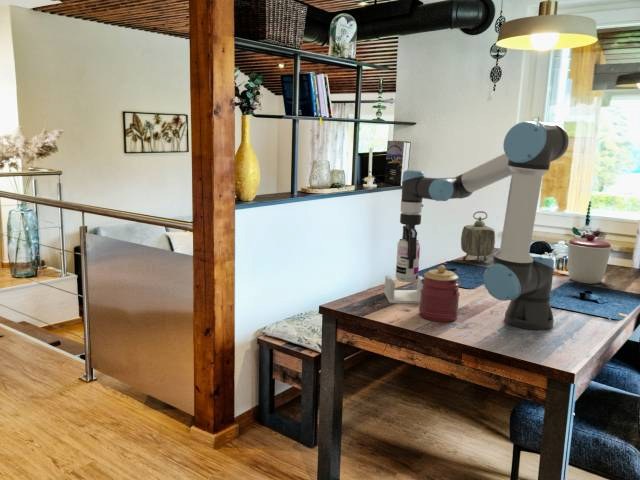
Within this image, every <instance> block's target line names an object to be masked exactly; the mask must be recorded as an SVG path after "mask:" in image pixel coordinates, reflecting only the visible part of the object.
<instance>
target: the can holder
mask: <svg viewBox="0 0 640 480" xmlns="http://www.w3.org/2000/svg"><path fill="white" fill-rule="evenodd" d="M424 278H425V277H423V276H422V275H418V279H417V285H416V290H415V289H414V290H411V289H410V290H409V289H407V290H405V289H395V287H396V285H395V284H396V283H395V281H394V280H393V278H392V277H391V275H389V274H387V275H386V274H385V278H384V279H385V281H384V291H383V293H384V295H385V297H386V299H387V300H388V303H389V304H416V305H420V296H421V292H420V290H421V289H422V283H421V280H422V279H424Z"/></svg>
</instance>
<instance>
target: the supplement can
mask: <svg viewBox="0 0 640 480" xmlns="http://www.w3.org/2000/svg"><path fill="white" fill-rule="evenodd" d="M396 249H397V251H396V265H395V266H396V267H395V279H396V280H397V281H399V282H403V283H413V282H416V281H418V276H419V271H420V270H419V269H420V268H419V267H420V256H421V255H420V254H421V244H420V240H419V239H417V245H416V259H415V261H414V276H413V277H406V263H407V260H406V258H408V253H407V252H408V242H407V241H406V239H402V238H400V239H399V240H398V242H397V247H396ZM411 256H413V255H411Z"/></svg>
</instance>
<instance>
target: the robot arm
mask: <svg viewBox="0 0 640 480" xmlns="http://www.w3.org/2000/svg"><path fill="white" fill-rule="evenodd" d="M569 141H570V138H569V135H568V132H567V131H566V129H565V128H564V127H562V126H561V125H559V124H558V123H554V122H543V121H534V120H528V121H521V122H519V123H516V124H514V125H513V126H512V127H511V128H510V129H508V131H507V132H506V135H505V137H504V139H503V146H502V147H503V154H500V155H499V156H496V157H495V158H492V159H491V160H487V161H486V162H484V163H481V164H479V165H478V166H476V167H474V168H471V169H469V170H467V171H465V172H463V173H461V174H459V175H456V176H455V177H437V178H436V177H425V172H424V171H423V170H417V169H416V170H412V169H411V170H405V171H403V175H402V180H401V201H400V212H401V213H400V216H399V223H400V224H401V225H403V226H402V237H401V239H406V241H407V242H408V252H407V253H408V258H406V260H407V263H406V277H413V276H414V261H415V259H416V245H417V240H418V231H417V230H416V226H419V225H421V223H422V214H421V213H422V209H423V208H424V204H423V199H425V200H432V201H436V202H447V201H448V200H452V199H460V200H461V199H465V198H469V197H471V195H472V194H473V193H474V192H476V191H478V190H481V189H483V188H485V187H489V186H490V185H492V184H494V183H497V182H499V181H501V180H504V179H506V178H508V177H510V183H509V190H508V195H507V200H506V201H507V204H506V209H505V214H504V215H505V216H504V219H503V220H504V222H503V227H502V233H501V239H500V248H499V249H498V250H497V251H495V252H494V253H493V257H492V264H490V265H489V266H488V267H487V268H486V269H485V270H484V273H483V277H482V278H483V286H484V288H485V290H487V292H488V294H489V295H490V296H491V297H493V299H496V300H497V301H498V300H499V301H504V302H506V301H510V302H509V303H508V306H507V309H506V310H505V313H504V321H505V322H506V323H508V324H509V325H511V326H513V327H517V328H521V329H525V330H532V329H533V330H535V331H537V330H538V331H539V330H540V331H544V330H550V329H552V328H553V327H554V321H555V320H554V316H553V311H552V306H551V296H552V295H551V293H552V287H553V286H552V285H553V276H554V271H555V260H554V259H553V258H552V257H550V256H547V255H542V254H536V253H531V252H530V249H531V245H532V244H531V243H532V239H533V233H534V226H535V221H536V216H537V215H536V214H537V210H538V203H539V198H540V192H541V186H542V181H543V176H544V175H545V174H546V173H548V172H549V171H550V165H551V163H553V162H555V161H557V160H559V159H560V158H561V157H563V155H565V153H566V152H567V150H568V147H569V143H570V142H569ZM411 255H413V256H411ZM551 327H552V328H551ZM549 328H550V329H549Z"/></svg>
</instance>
